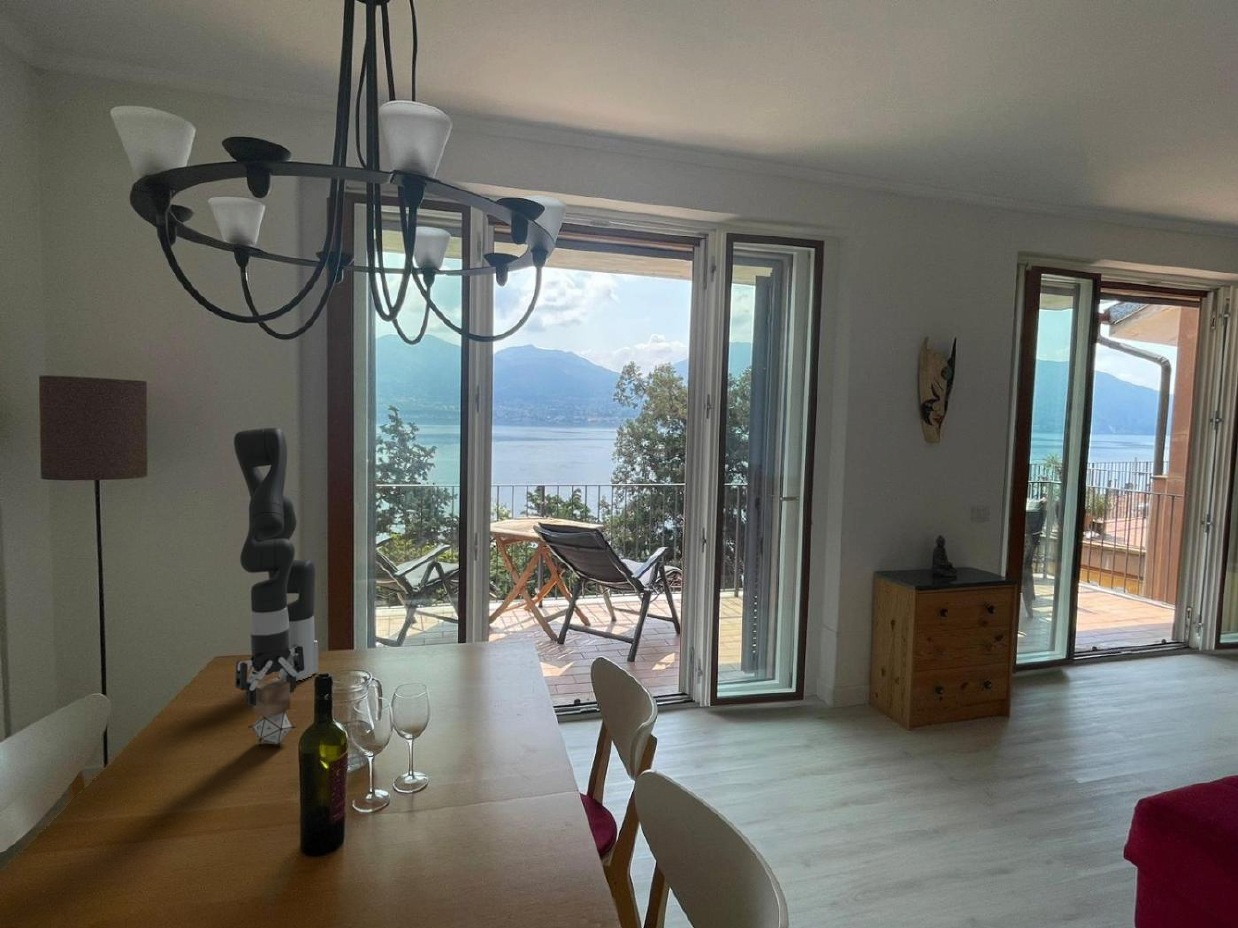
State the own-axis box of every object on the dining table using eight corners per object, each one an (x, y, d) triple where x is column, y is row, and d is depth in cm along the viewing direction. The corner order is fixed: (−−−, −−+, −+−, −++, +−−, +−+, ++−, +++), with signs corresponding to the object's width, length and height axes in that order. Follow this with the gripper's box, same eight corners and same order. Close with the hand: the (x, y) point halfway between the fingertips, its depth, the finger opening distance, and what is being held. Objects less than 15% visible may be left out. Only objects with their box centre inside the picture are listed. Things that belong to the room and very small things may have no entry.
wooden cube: (277, 702, 152) (276, 677, 151) (290, 708, 149) (289, 682, 148) (253, 711, 147) (252, 685, 147) (266, 717, 144) (265, 691, 144)
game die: (271, 764, 147) (252, 743, 140) (254, 739, 151) (235, 718, 145) (308, 734, 152) (291, 713, 145) (290, 711, 156) (273, 690, 149)
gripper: (291, 616, 154) (293, 683, 156) (228, 633, 143) (230, 705, 144) (309, 623, 150) (311, 691, 151) (245, 640, 138) (247, 714, 140)
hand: (271, 698), depth 148 cm, fingers open, 8 cm apart
